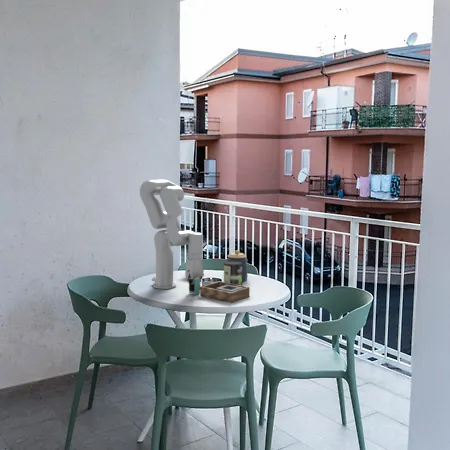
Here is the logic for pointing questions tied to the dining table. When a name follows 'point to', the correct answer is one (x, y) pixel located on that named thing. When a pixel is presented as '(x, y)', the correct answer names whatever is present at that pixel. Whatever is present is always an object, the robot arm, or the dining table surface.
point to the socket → (229, 288)
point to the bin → (224, 292)
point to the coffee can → (233, 272)
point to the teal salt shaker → (196, 286)
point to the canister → (240, 258)
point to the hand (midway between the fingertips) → (194, 289)
